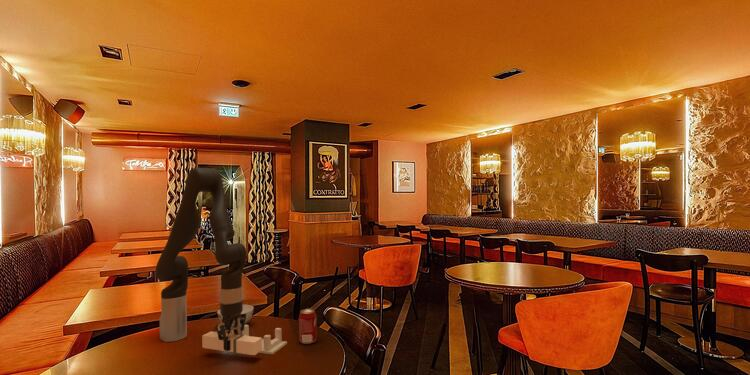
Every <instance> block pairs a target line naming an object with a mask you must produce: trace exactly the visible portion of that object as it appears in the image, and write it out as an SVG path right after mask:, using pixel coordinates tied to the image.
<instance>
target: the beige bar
mask: <svg viewBox="0 0 750 375" xmlns="http://www.w3.org/2000/svg"><path fill="white" fill-rule="evenodd" d="M227 335H228V333H226V336H227ZM201 339H202V341H201V342H202V344H201V346H202V347H201V348H202V349H207V350H214V351H215V350H216V351H222V352H223V351H224V352H226V351H225V350H224V341H223V340H219V338H218V334H217V331H211V330H210V331H208V332H206V333H205V334H203V335H201ZM262 339H263V337H260V336H259V337H258V336H253V335H252V336H251V335H249V336H244V335H242V334H240V335H237V334H231V337H230V350H229V351H227V352H229V353H234V354H243V355H248V356H249V355H250V356H256V355H258V352H260V351H261V350H262Z"/></svg>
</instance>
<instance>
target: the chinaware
mask: <svg viewBox="0 0 750 375" xmlns="http://www.w3.org/2000/svg"><path fill="white" fill-rule="evenodd" d="M241 313H242V314H246V320H245V325H247V323H248V322H249V320H250V319H251V318H252V316H253V313H254V306H253V305H249V304H243V311H242V312H241ZM216 314H217V316H218V319H219V321H220V323H222V319H223V316H222V315H221V313H220V309H218V310H217V313H216ZM240 325H241V326H242V324H240Z"/></svg>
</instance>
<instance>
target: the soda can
mask: <svg viewBox="0 0 750 375" xmlns="http://www.w3.org/2000/svg"><path fill="white" fill-rule="evenodd" d="M317 331H318V330H317V314H316V312H315V309H313V308H305V309H301V310H300V313H299V315H298V340H299V342H300V343H301V344H303V345H311V344H313V343H315V342H316V341H317V337H318V335H317Z"/></svg>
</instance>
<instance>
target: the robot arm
mask: <svg viewBox="0 0 750 375" xmlns="http://www.w3.org/2000/svg"><path fill="white" fill-rule="evenodd" d="M223 183H224V181H223V179H222V175H221V174H220V171H219V170H217V169H215V168H211V167H210V168H208V167H193V168H191V169H190V171H189V172H188V175H187V178H186V181H185V186H184V189H183V193H182V198H181V201H180V204H179V208H178V210H177V213H176V216H175V217H174V221H173V223H172V227H171V229H170V233H169V237H168V239H167V241H166V243H165V247H164V248H163V250H162V252H161V255H160V256H159V258H158V260H157V263H156V266H155V276H156V278H157V279H158V281H161V282H169V281H171V283H170V284H168V285H167V286H166V287H165V288H163V289H162V290H161V292H160V305H161V307H160V308H161V314H160V315H159V340H161V341H162V342H165V343H169V342H177V341H180V340H184V339H185V338H186V337H188V324H187V323H188V319H187V318H188V315H187V307H188V306H187V302H188V301H187V289H188V285H189V262H188V260H187V258H186V256H183V255H179V254H180V253H181V252H182V250H184V249H186V247H187V246H188V245H189V244H190V243H191V242H192V241H193V240H194V239H195V237H196V235H197V233H198V231H199V229H200V225H201V223H202V222H201V215H200V213H199V209H198V206H197V199H198V196H199V193H210V194H211V196H212V200H213V202H212V207H211V210H210V213H209V224H210V228H211V231H212V235H213V237H214V255H215V256H214V257H215V260H216V262H217V263H218V264H219V265H221V266H227V265H230V267H229V268H227V270H224V271H222V273H221V275H220V294H219V296H220V297H219V299H220V300H219V303H220V304H219V306H220V307H219V310H220V313H221V315H222V316H223V319H222V322H220V323H219V324H216V325H215V330H216V332H217V334H218V338H219V340H223V341H224V350H225V351H224V352H228V351H229V350H230V337H231V333H232V332H233V333H234V334H237V335H242V331H243V330H244V326H245V325H246V324H245V320H246V314H242V313H241V312H242V311H243V305H244V302H243V301H244V300H243V298H244V297H243V295H244V294H243V288H242V287H243V280H242V278H243V276H242V275H243V272H244V268H245V264H246V260H247V257H248V256H247V253H248V252H247V249H246V247H245V245H244V244H242V243H240V242H237V243H231V244H230V243H229V244H228V243H227V241H229V240H231V239H233V238H234V236H235V234H236V233H235V229H234V227H233V224H232V221H231V218H230V216H229V211H228V208H227V201H226V195H225V190H224V189H225V188H224V184H223ZM240 324H242V326H241V325H240ZM226 333H228V335H227V336H226Z"/></svg>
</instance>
